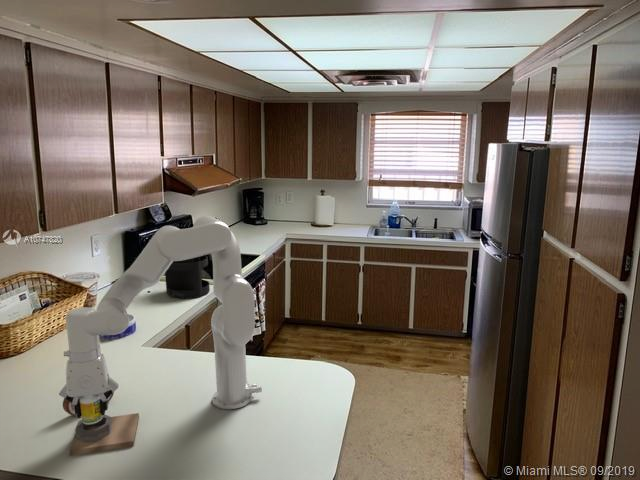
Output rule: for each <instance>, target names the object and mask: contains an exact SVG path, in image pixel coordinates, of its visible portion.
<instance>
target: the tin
mask: <svg viewBox="0 0 640 480" xmlns="http://www.w3.org/2000/svg"><path fill="white" fill-rule="evenodd" d="M110 388H111V386H110V385H108V390H109V389H110ZM108 390H107V391H108ZM114 393H115V391H114V392H113V393H112V394H111V395H110V396H109V398H108V399H107V404H108V403H109V402H110V401H111V400H112V398H113V397H114ZM79 399H80V397H79ZM62 408H63V410H64V411H65V413H67V414H68V415H70V416H74V417H77V414H75V409H74V405H72V403H71V402H70V401H68V400H67V399H66V398H64V397H63V401H62Z"/></svg>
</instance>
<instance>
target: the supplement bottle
mask: <svg viewBox="0 0 640 480" xmlns="http://www.w3.org/2000/svg"><path fill="white" fill-rule="evenodd" d="M100 402H101V398H100V396H99V394H98V395H90V396H82V397H80V408H81V420H82V422H83V423H84V424H87V425H90V424H95V423H97V422H99V421H100V420H101V419H102V418H103V415H101V407H100Z"/></svg>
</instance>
